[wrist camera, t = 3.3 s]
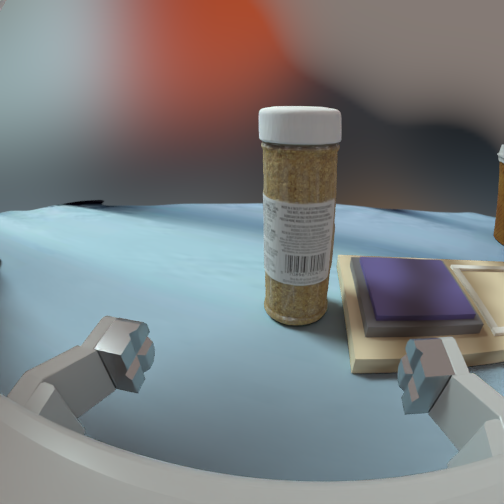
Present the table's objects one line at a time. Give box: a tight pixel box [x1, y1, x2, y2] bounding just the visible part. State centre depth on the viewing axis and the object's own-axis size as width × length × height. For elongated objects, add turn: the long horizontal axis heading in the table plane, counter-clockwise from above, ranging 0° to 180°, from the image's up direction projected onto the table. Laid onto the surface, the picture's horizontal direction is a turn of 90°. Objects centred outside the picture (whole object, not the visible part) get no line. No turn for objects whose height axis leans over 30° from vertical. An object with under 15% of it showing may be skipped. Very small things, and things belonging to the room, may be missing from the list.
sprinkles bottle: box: [259, 106, 341, 325], centre depth 19 cm, size 5×5×14 cm
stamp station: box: [337, 255, 504, 373], centre depth 19 cm, size 20×12×2 cm, turn 82°
